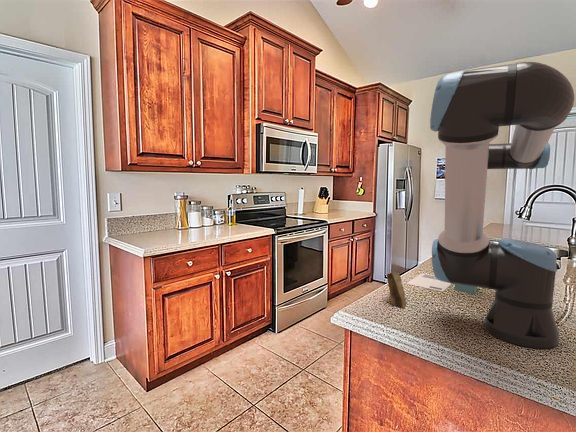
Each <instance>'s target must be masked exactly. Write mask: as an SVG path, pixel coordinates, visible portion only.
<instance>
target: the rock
mask: <svg viewBox="0 0 576 432" xmlns="http://www.w3.org/2000/svg"><path fill="white" fill-rule="evenodd" d="M401 277H402V276H401V274H399V273H398V272H396V271H393V272H390V273H387V274H386V279H387V285H388V290H389V296H390V297H389V298H390V304H391V305H393V306H395V307H398V308H401V309H406V305H407V301H406V300H407V299H406V293H405V290H404V286H403V284H402V282H403V281H402V278H401Z"/></svg>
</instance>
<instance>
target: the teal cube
mask: <svg viewBox="0 0 576 432" xmlns="http://www.w3.org/2000/svg"><path fill="white" fill-rule="evenodd" d="M478 289H479V287H474V286H467V285H461V284H454V291H456V292H457V291H458V292H462V293H467V294H471V295H472V294H473V295H475V293H476V292H477V291H478Z"/></svg>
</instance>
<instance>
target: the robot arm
mask: <svg viewBox="0 0 576 432" xmlns="http://www.w3.org/2000/svg"><path fill="white" fill-rule="evenodd" d="M571 83H572V82H570V81H569V79H568V78H567V77H566V75H564V74H563V73H562V72H560V70H558V69H556V68H555V67H552V66H551V65H548V64H546V63H541V62H537V61H536V62H535V61H520V62H515V63H509V64H503V65H495V66H489V67H488V66H487V67H480V68H479V67H478V68H473V69H463V70H460V71H456V72H451V73H446V74H444V75H443V76H441V77H440V78H439V79H438V81H437V83H436V86H435V90H434V92H433V93H434V94H433V98H432V104H431V111H430V119H429V123H430V127H429V128H430V130H431V131H433V132H434V133H436V132H437V136H438V137H437V139H438V141H439V142H440V143H442V144H443V145H445V150H444V152H445V158H444V159H445V165H444V166H445V167H444V168H445V169H444V176H445V177H444V230H443V231H441V232H440V233H439V235H438V237H437V238H436V239H434V240H433V241H432V246H431V265H432V271H433V275H435V276H436V278H437V279H438V280H440V281H443V282H448V283H451V285H455V284H461V285H467V286H474V287H478V288H481V289H486V290H487V289H488V290H495V291H494V300H493V302H492V304H491V306H490V307H489V309H488V311H487V314H486V315H485V319H484V328H485V330H486V331H487V332H488V333H490V335H492V336H494V337H496V338H497V339H500V340H501V341H504V342H507V343H511V344H513V345H517V346H522V347H526V348H532V349H553V348H555V347H557V346H558V345H559V340H560V332H559V329H558V325H557V322H556V319H555V316H554V312H553V305H554V303H553V301H554V292H555V281H556V273H557V272H558V268H557V254H556V252H555V251H554V250H553V249H552V248H549V247H547V246H544V245H542V244H538V243H535V242H534V243H533V242H529V241H525V240H520V239H519V240H518V239H513V238H500V239H499V241H498V242H497V243H498V244H497V243H490V238H489V236H488V235H487V234H486V233H485V232H483V231H484V223H485V221H484V218H485V208H486V207H485V206H486V195H487V194H486V193H487V191H486V190H487V180H488V177H487V176H488V170H513V169H514V170H535V169H544V168H547V166H548V165H549V161H550V157H551V145H550V143H549V141H550V139H551V136H552V135H553V133H554V130H555V129H556V127H558V126H560V125H561V124H562V123H564V121H566V119H567V118H568V116H569V115H570V113H571V111H572V109H573V106H574V104H575V92H574V91H575V90H574V88H573V86H572V84H571ZM508 126H514V131H513V135H512V138H511V142H510V143H491V142H492V141H493V140H495V139H496V137H498V136H499V129H500V127H508Z"/></svg>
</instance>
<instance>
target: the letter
mask: <svg viewBox="0 0 576 432" xmlns="http://www.w3.org/2000/svg"><path fill="white" fill-rule="evenodd" d="M405 285H410V286H415V287H420V288H424V289H429V290H433V291H437V292H445V291H446V290H447V289H448V288H449V287H450V286H451V285H452V284H451V283H448V282H443V281H440V280H438V279H437V278H436V276H435V275H434V274H429V273H423V272H422V273H420V274H418V275H416V276H415V277H414V278H413V279H411V280H409V281H408V282H406V283H405Z"/></svg>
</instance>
